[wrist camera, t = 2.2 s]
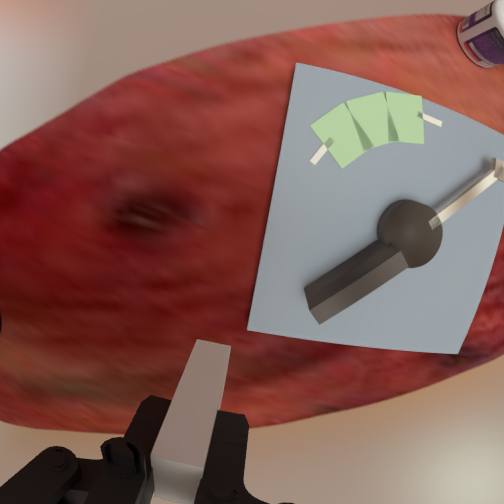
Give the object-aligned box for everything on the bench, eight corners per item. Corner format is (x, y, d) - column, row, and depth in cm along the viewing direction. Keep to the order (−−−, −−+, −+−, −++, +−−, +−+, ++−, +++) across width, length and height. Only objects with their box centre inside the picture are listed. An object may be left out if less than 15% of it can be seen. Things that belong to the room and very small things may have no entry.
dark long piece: (484, 137, 21) (512, 137, 17) (504, 187, 22) (532, 193, 18) (291, 270, 25) (295, 290, 21) (323, 317, 26) (331, 342, 22)
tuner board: (248, 321, 29) (246, 331, 27) (295, 66, 23) (296, 60, 21) (451, 346, 29) (458, 355, 27) (508, 141, 22) (519, 142, 21)
